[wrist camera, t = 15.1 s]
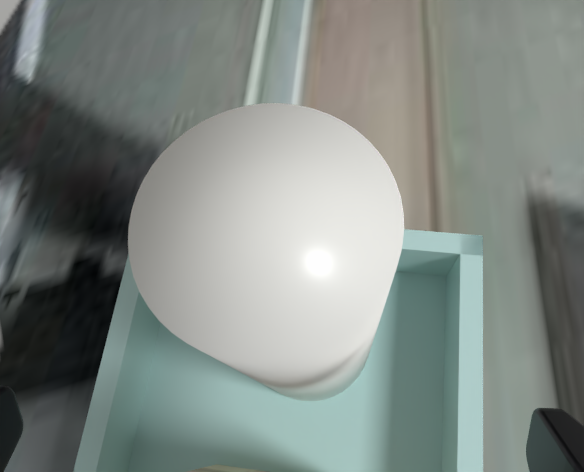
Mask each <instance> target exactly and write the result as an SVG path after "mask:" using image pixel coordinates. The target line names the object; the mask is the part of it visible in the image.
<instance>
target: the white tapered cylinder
mask: <svg viewBox="0 0 584 472" xmlns="http://www.w3.org/2000/svg"><path fill="white" fill-rule="evenodd" d="M403 236H404V213H403V207H402V201H401V196H400V193H399V190H398V187H397V184H396V181H395V179H394V177H393V175H392V173H391V170H390V168H389V166H388V165H387V163H386V162H385V160H384V159H383V157H382V156H381V154H380V153H379V152H378V151H377V150H376V148H375V147H374V146H373V145H372V144H371V143H370V142H369V141H368V140H367V139H366V138H365V137H364V136H363V135H362V134H360V133H359V132H358V131H357V130H356V129H354V128H353V127H351V126H350V125H348V124H346V123H345V122H343V121H342V120H340V119H338V118H336V117H334V116H332V115H329V114H327V113H324V112H321V111H319V110H316V109H313V108H308V107H304V106H299V105H292V104H283V103H264V104H256V105H248V106H244V107H239V108H235V109H231V110H228V111H225V112H223V113H220V114H217V115H215V116H213V117H211V118H208V119H206V120H204V121H202V122H200V123H199V124H197V125H196V126H194V127H192V128H191V129H189V130H188V131H186V132H185V133H184V134H182V135H181V136H180V137H179V138H177V139H176V140H175V141H174V142H173V143H172V144H171V145H170V146H169V147H168V148H167V149H166V150H165V151H164V152H163V153H162V154H161V155H160V156H159V158H158V159H157V160H156V161H155V163H154V164H153V165H152V167H151V168H150V170H149V172H148V173H147V175H146V176H145V178H144V180H143V182H142V184H141V186H140V188H139V190H138V193H137V195H136V198H135V201H134V204H133V207H132V211H131V216H130V222H129V228H128V250H129V260H130V265H131V269H132V273H133V277H134V279H135V282H136V284H137V287H138V289H139V292H140V294H141V295H142V297H143V299H144V301H145V302H146V304H147V306H148V307H149V309H150V310H151V311H152V313H153V314H154V315H155V316H156V318H157V319H158V320H159V321H160V322H161V323H162V324H163V325H164V326H165V327H166V328H167V329H168V330H169V331H170V332H171V333H173V334H174V335H175V336H177V337H178V338H180V339H181V340H183V341H184V342H185V343H187V344H189V345H191V346H192V347H194V348H196V349H198V350H200V351H202V352H204V353H206V354H207V355H209V356H211V357H213V358H215V359H217V360H219V361H221V362H222V363H224V364H226V365H228V366H230V367H232V368H234V369H236V370H237V371H239V372H241V373H243V374H245V375H247V376H249V377H250V378H252V379H254V380H256V381H258V382H260V383H262V384H264V385H265V386H267V387H269V388H271V389H273V390H275V391H277V392H279V393H280V394H282V395H284V396H286V397H289V398H292V399H295V400H300V401H320V400H325V399H328V398H331V397H334V396H336V395H338V394H340V393H341V392H343V391H344V390H346V389H347V388H348V387H350V386H351V385H352V384H353V383H354V382H355V380H356V379H357V378H358V377H359V375H360V374H361V372H362V370H363V369H364V366H365V364H366V362H367V359H368V356H369V353H370V349H371V346H372V343H373V340H374V337H375V334H376V331H377V328H378V325H379V322H380V318H381V315H382V312H383V309H384V306H385V303H386V300H387V297H388V294H389V290H390V287H391V284H392V281H393V278H394V275H395V272H396V269H397V265H398V262H399V258H400V254H401V251H402V244H403Z"/></svg>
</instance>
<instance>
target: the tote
mask: <svg viewBox="0 0 584 472" xmlns="http://www.w3.org/2000/svg"><path fill="white" fill-rule="evenodd" d="M216 464H218V465H225V466H232V467H239V468H246V469H253V470H260V471H267V472H483V236H479V235H467V234H455V233H443V232H431V231H418V230H406V229H404V236H403V244H402V251H401V254H400V258H399V262H398V265H397V269H396V272H395V275H394V278H393V281H392V284H391V287H390V290H389V294H388V297H387V300H386V303H385V306H384V309H383V312H382V315H381V318H380V322H379V325H378V328H377V331H376V334H375V337H374V340H373V343H372V346H371V349H370V353H369V356H368V359H367V362H366V364H365V366H364V369H363V370H362V372H361V374H360V375H359V377H358V378H357V379H356V380H355V382H354V383H353V384H352V385H351V386H350V387H348V388H347V389H346V390H344V391H343V392H341V393H340V394H338V395H336V396H334V397H331V398H328V399H325V400H320V401H300V400H295V399H292V398H289V397H286V396H284V395H282V394H280V393H279V392H277V391H275V390H273V389H271V388H269V387H267V386H265V385H264V384H262V383H260V382H258V381H256V380H254V379H252V378H250V377H249V376H247V375H245V374H243V373H241V372H239V371H237V370H236V369H234V368H232V367H230V366H228V365H226V364H224V363H222V362H221V361H219V360H217V359H215V358H213V357H211V356H209V355H207V354H206V353H204V352H202V351H200V350H198V349H196V348H194V347H192V346H191V345H189V344H187V343H185V342H184V341H183V340H181V339H180V338H178V337H177V336H175V335H174V334H173V333H171V332H170V331H169V330H168V329H167V328H166V327H165V326H164V325H163V324H162V323H161V322H160V321H159V320H158V319H157V318H156V316H155V315H154V314H153V313H152V311H151V310H150V309H149V307H148V306H147V304H146V302H145V301H144V299H143V297H142V295H141V294H140V292H139V289H138V287H137V284H136V282H135V279H134V277H133V273H132V269H131V265H130V260H129V253H128V257H127V261H126V265H125V269H124V273H123V277H122V281H121V285H120V289H119V293H118V297H117V301H116V305H115V309H114V313H113V316H112V320H111V324H110V328H109V332H108V336H107V340H106V344H105V348H104V352H103V356H102V360H101V364H100V368H99V372H98V376H97V380H96V383H95V387H94V391H93V395H92V399H91V403H90V407H89V411H88V415H87V419H86V423H85V427H84V431H83V435H82V439H81V443H80V447H79V451H78V454H77V458H76V462H75V466H74V470H73V472H187V471H191V470H195V469H199V468H203V467H208V466H212V465H216Z"/></svg>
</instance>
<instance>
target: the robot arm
mask: <svg viewBox="0 0 584 472" xmlns="http://www.w3.org/2000/svg"><path fill="white" fill-rule="evenodd" d="M22 431H23V419H22V416H21V412H20V409H19V406H18V403H17V400H16V396H15V393H14V391H13V390H12V389H11V388H10V387H8V386H0V472H4V470H5V468H6V466H7V464H8V462H9V460H10V458H11V455H12V453H13V451H14V449H15V447H16V445H17V443H18V441H19V439H20V437H21V434H22ZM526 457H527V462H528V467H529V471H530V472H584V426H583V425H582V424H581V423H580V422H578V421H577V420H576V419H575V418H573V417H572V416H571V415H569V414H568V413H567V412H565V411H564V410H562V409H553V408H537V409H536V410H534V412H533V414H532V419H531V424H530V429H529V435H528V440H527V445H526Z"/></svg>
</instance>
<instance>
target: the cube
mask: <svg viewBox="0 0 584 472" xmlns="http://www.w3.org/2000/svg"><path fill="white" fill-rule="evenodd" d="M187 472H267V471H260V470H253V469H246V468H239V467H232V466H225V465H218V464H216V465H212V466H208V467H203V468H199V469H195V470H191V471H187Z"/></svg>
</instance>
